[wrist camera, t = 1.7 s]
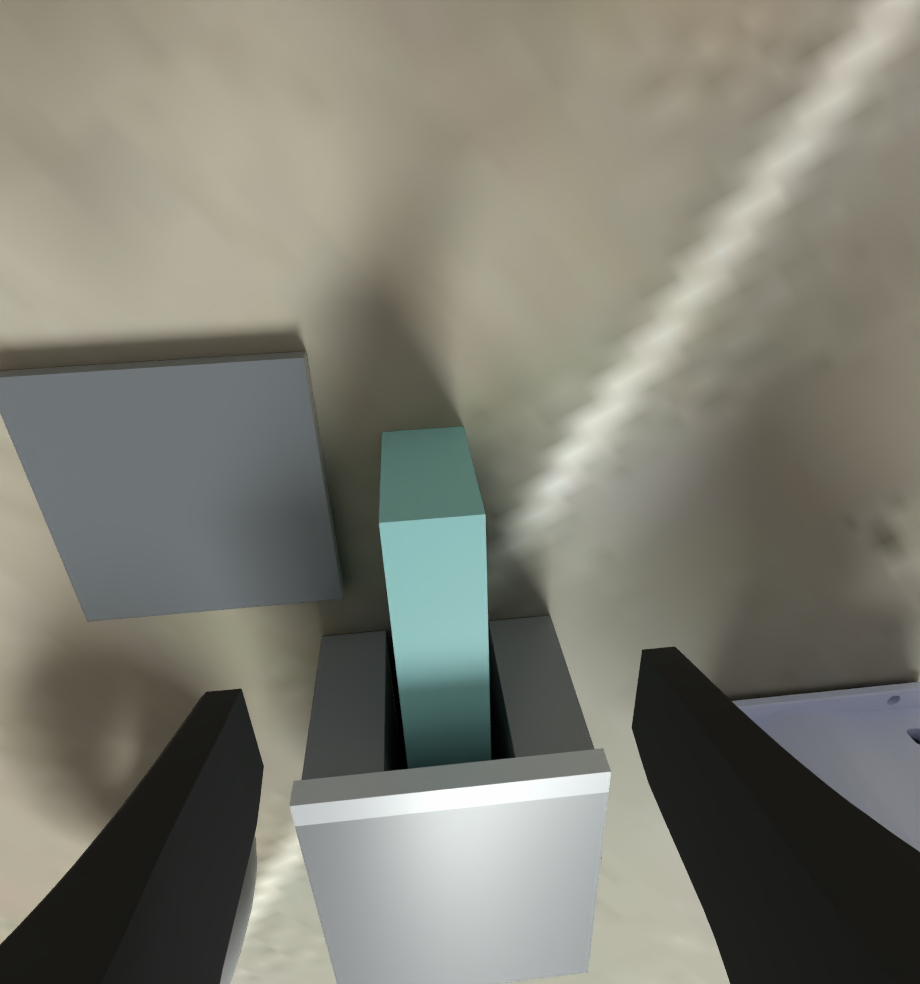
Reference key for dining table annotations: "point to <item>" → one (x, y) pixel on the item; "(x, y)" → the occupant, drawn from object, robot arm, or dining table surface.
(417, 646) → the tall teal prism
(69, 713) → the dining table surface
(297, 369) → the coaster
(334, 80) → the dining table surface
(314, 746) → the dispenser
